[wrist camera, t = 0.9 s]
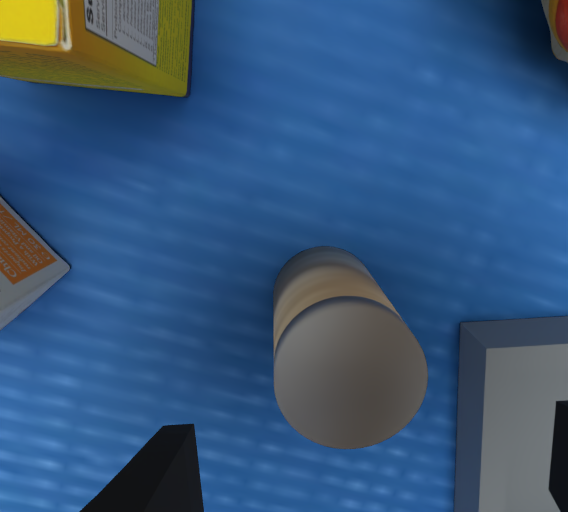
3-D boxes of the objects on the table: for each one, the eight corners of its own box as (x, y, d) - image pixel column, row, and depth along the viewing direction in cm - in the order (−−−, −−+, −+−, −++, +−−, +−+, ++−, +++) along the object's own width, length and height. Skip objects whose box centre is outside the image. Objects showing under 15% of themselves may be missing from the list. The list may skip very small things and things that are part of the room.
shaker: (276, 344, 20) (278, 453, 13) (270, 249, 19) (269, 313, 12) (374, 338, 20) (426, 443, 13) (373, 243, 19) (429, 303, 12)
